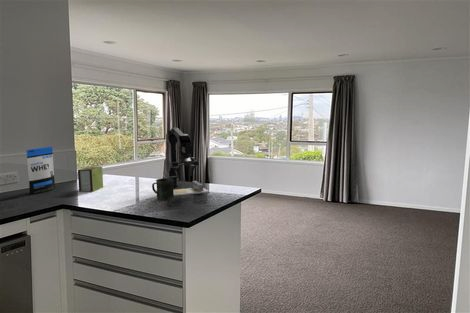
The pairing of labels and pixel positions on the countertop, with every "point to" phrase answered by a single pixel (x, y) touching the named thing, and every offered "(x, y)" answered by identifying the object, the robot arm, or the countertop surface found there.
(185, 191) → the label panel
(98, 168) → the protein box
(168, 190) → the mug
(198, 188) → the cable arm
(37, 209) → the countertop surface
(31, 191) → the protein powder
